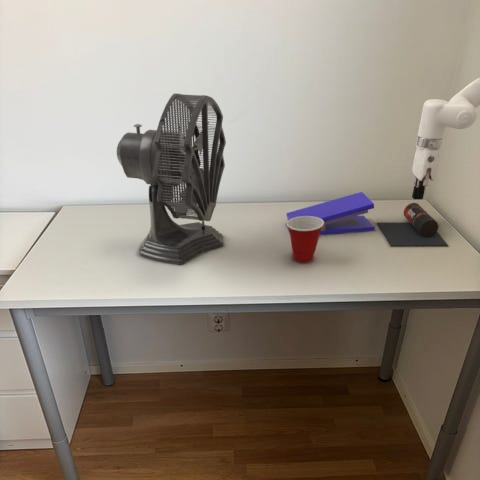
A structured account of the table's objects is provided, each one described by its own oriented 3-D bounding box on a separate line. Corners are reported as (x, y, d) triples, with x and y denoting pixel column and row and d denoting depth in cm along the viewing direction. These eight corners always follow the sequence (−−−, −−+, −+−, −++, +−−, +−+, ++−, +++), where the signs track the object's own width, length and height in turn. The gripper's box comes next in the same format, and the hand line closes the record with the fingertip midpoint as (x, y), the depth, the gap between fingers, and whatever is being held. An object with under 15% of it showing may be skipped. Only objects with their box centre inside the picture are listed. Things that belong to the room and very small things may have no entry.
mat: (429, 223, 177) (429, 222, 176) (447, 246, 162) (447, 245, 162) (377, 223, 176) (377, 222, 176) (391, 246, 161) (391, 245, 161)
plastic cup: (292, 247, 160) (295, 211, 154) (325, 255, 156) (329, 218, 149) (278, 262, 152) (280, 224, 146) (312, 270, 148) (316, 231, 141)
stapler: (375, 231, 171) (379, 202, 166) (294, 237, 167) (296, 208, 161) (361, 217, 180) (365, 190, 175) (284, 223, 176) (286, 195, 170)
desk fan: (267, 261, 152) (273, 100, 127) (163, 289, 139) (147, 114, 114) (215, 221, 177) (212, 79, 151) (123, 241, 163) (102, 88, 138)
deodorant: (417, 219, 179) (434, 238, 167) (401, 218, 178) (417, 236, 166) (422, 203, 176) (441, 221, 164) (406, 202, 175) (423, 219, 163)
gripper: (449, 149, 155) (435, 206, 165) (432, 136, 167) (421, 190, 178) (424, 149, 155) (412, 206, 165) (410, 136, 167) (399, 190, 177)
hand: (417, 198), depth 171 cm, fingers closed
